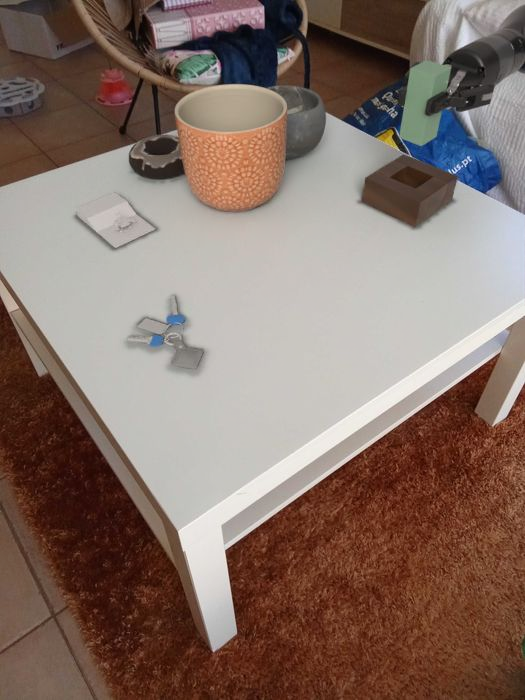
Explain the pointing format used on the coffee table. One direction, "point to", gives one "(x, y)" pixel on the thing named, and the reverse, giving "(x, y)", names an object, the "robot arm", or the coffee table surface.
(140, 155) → the donut
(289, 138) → the bowl
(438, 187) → the mount block
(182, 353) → the key chain
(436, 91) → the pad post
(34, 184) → the coffee table surface
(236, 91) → the planter
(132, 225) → the small white envelope
